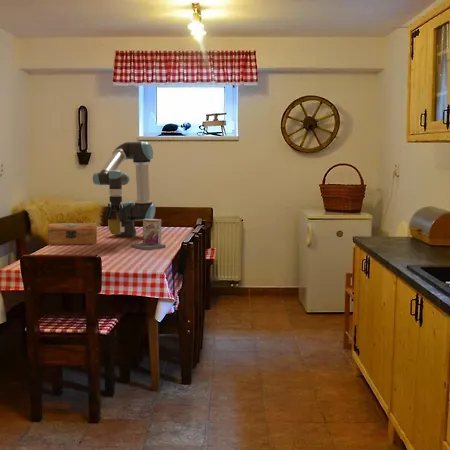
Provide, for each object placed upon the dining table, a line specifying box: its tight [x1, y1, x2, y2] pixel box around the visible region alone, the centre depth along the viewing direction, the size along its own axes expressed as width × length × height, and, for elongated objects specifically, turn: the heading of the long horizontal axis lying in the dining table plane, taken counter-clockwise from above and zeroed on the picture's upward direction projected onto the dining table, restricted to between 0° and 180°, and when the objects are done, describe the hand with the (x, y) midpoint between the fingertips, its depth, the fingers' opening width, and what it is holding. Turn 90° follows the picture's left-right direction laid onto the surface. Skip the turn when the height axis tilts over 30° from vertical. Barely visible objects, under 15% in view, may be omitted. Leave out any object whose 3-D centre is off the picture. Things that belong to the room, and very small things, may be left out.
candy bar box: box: [142, 218, 162, 244], centre depth 392 cm, size 11×5×16 cm, turn 71°
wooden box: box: [47, 222, 98, 245], centre depth 389 cm, size 30×16×14 cm, turn 100°
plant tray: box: [130, 242, 167, 251], centre depth 375 cm, size 15×15×2 cm
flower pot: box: [107, 218, 121, 235], centre depth 374 cm, size 9×9×9 cm
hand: (116, 231), depth 374 cm, fingers closed on flower pot, 12 cm apart
